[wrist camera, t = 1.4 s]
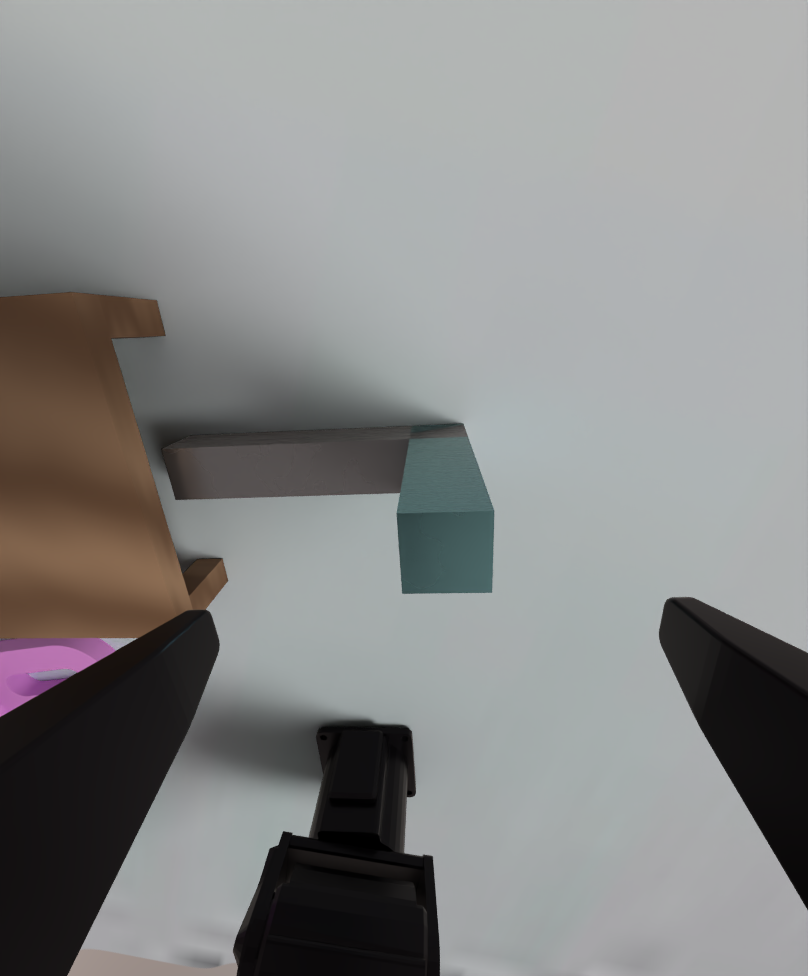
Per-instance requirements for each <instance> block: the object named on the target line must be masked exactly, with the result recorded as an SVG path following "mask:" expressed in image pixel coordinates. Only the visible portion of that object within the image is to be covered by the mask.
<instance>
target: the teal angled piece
mask: <svg viewBox="0 0 808 976" xmlns="http://www.w3.org/2000/svg"><path fill="white" fill-rule="evenodd" d="M161 450H162V454H163V457H164V461H165V464H166V468H167V471H168V475H169V478H170V482H171V485H172V489H173V492H174V496H175V499H176V500H187V499H220V498H252V497H285V496H318V495H350V494H383V493H400V497H399V503H398V509H397V525H398V539H399V553H400V568H401V582H402V594H414V593H492V575H493V539H494V509H493V506H492V503H491V500H490V497H489V495H488V492H487V489H486V486H485V483H484V480H483V478H482V475H481V472H480V469H479V466H478V464H477V461H476V458H475V455H474V452H473V449H472V447H471V444H470V441H469V438H468V435H467V433H466V430H465V427H464V424H444V425H420V426H397V427H374V428H350V429H327V430H304V431H280V432H257V433H233V434H210V435H191V436H189V437H186V438H184V439H182V440H180V441H178V442H176V443H173V444H171V445H169V446H167V447H165V448H162V449H161Z"/></svg>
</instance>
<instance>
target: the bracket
mask: <svg viewBox="0 0 808 976" xmlns="http://www.w3.org/2000/svg"><path fill="white" fill-rule="evenodd" d="M113 652H115V650H114V649H113V648H112V647H111V646H110V645H108V644H107V643H106V642H104V641H102V640H101V639H99V638H16V639H9V640H1V641H0V717H1V716H3V715H4V714H6V713H8V712H10V711H11V710H13V709H15V708H17V707H18V706H20V705H22V704H24V703H25V702H27V701H29V700H31V699H32V698H34V697H36V696H38V695H39V694H41V693H43V692H45V691H46V690H48V689H50V688H52V687H53V686H55V685H57V684H59V683H60V682H62V681H64V680H66V679H67V678H65V679H57V680H48V681H39V680H36V679H34V678H32V677H30V676H29V675H28V674H27V673H33V672H41V671H50V670H58V669H71V670H74V671H76V672H80V671H81V670H83V669H85V668H87V667H88V666H90V665H92V664H94V663H95V662H97V661H99V660H101V659H102V658H104V657H106V656H108V655H110V654H111V653H113Z"/></svg>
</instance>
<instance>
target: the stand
mask: <svg viewBox="0 0 808 976" xmlns="http://www.w3.org/2000/svg"><path fill="white" fill-rule="evenodd" d="M155 336H166V335H165V331H164V327H163V324H162V320H161V316H160V312H159V308H158V304H157V300H147V299H136V298H126V297H116V296H106V295H95V294H85V293H75V292H67V293H53V294H39V295H25V296H11V297H0V638H139V637H141V636H143V635H145V634H146V633H148V632H150V631H152V630H153V629H155V628H157V627H159V626H160V625H162V624H164V623H166V622H167V621H169V620H171V619H173V618H174V617H176V616H178V615H180V614H181V613H183V612H185V611H188V610H205V609H206V608H207V607H208V606H209V604H210V603H211V602H212V600H213V599H214V598H215V597H216V595H217V594H218V593H219V592H220V590H221V589H222V588H223V587H224V585H225V584H226V583H227V582H228V578H227V574H226V571H225V567H224V563H223V559H197V560H196V561H195V562H194V563H193V564H192V565H191V566H190V567H189V568H188V569H187V570H186V571H185V572H184V573H183V574H182V572H181V568H180V565H179V562H178V558H177V555H176V552H175V548H174V545H173V542H172V538H171V535H170V532H169V528H168V525H167V522H166V519H165V515H164V512H163V509H162V505H161V502H160V499H159V495H158V492H157V489H156V485H155V482H154V479H153V475H152V472H151V469H150V466H149V462H148V459H147V456H146V452H145V449H144V446H143V442H142V439H141V436H140V432H139V429H138V426H137V423H136V419H135V416H134V413H133V409H132V406H131V403H130V399H129V396H128V393H127V389H126V386H125V383H124V379H123V376H122V373H121V370H120V366H119V363H118V360H117V356H116V353H115V350H114V346H113V343H112V340H111V339H114V338H139V337H155Z"/></svg>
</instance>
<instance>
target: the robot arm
mask: <svg viewBox="0 0 808 976" xmlns="http://www.w3.org/2000/svg"><path fill="white" fill-rule="evenodd" d="M659 639H660V643H661V646H662V648H663V651H664V653H665V655H666V657H667V659H668V661H669V663H670V665H671V668H672V670H673V672H674V674H675V676H676V678H677V680H678V683H679V685H680V687H681V689H682V691H683V693H684V695H685V698H686V700H687V702H688V704H689V706H690V708H691V710H692V712H693V714H694V716H695V718H696V720H697V722H698V724H699V726H700V728H701V730H702V732H703V733H704V735H705V737H706V739H707V740H708V742H709V744H710V746H711V747H712V749H713V751H714V752H715V754H716V756H717V757H718V759H719V761H720V762H721V764H722V766H723V768H724V769H725V771H726V773H727V774H728V776H729V778H730V779H731V781H732V783H733V784H734V786H735V788H736V790H737V791H738V793H739V795H740V796H741V798H742V800H743V801H744V803H745V805H746V806H747V808H748V810H749V812H750V813H751V815H752V817H753V818H754V820H755V822H756V823H757V825H758V827H759V828H760V830H761V832H762V833H763V835H764V837H765V839H766V840H767V842H768V844H769V845H770V847H771V849H772V850H773V852H774V854H775V855H776V857H777V859H778V861H779V862H780V864H781V866H782V867H783V869H784V871H785V872H786V874H787V876H788V877H789V879H790V881H791V883H792V884H793V886H794V888H795V889H796V891H797V893H798V894H799V896H800V898H801V899H802V901H803V903H804V905H805V906H806V908H807V910H808V653H807V652H805V651H803V650H801V649H799V648H797V647H794V646H792V645H790V644H788V643H786V642H784V641H782V640H780V639H778V638H776V637H774V636H772V635H770V634H767V633H765V632H763V631H761V630H759V629H757V628H755V627H753V626H751V625H749V624H747V623H745V622H743V621H741V620H738V619H736V618H734V617H732V616H730V615H728V614H726V613H724V612H722V611H720V610H718V609H716V608H714V607H711V606H709V605H707V604H705V603H703V602H701V601H699V600H697V599H695V598H692V597H672V598H669V599H667V600H666V602H665V604H664V609H663V614H662V619H661V624H660V629H659ZM219 646H220V644H219V638H218V635H217V631H216V628H215V625H214V622H213V618H212V615H211V613H210V612H209V611H208V610H188V611H185V612H183V613H181V614H180V615H178V616H176V617H174V618H173V619H171V620H169V621H167V622H166V623H164V624H162V625H160V626H159V627H157V628H155V629H153V630H152V631H150V632H148V633H146V634H145V635H143V636H141V637H139V638H138V639H136V640H134V641H132V642H131V643H129V644H127V645H125V646H124V647H122V648H120V649H118V650H117V651H115V652H113V653H111V654H110V655H108V656H106V657H104V658H102V659H101V660H99V661H97V662H95V663H94V664H92V665H90V666H88V667H87V668H85V669H83V670H81V671H80V672H78V673H76V674H74V675H73V676H71V677H69V678H67V679H66V680H64V681H62V682H60V683H59V684H57V685H55V686H53V687H52V688H50V689H48V690H46V691H45V692H43V693H41V694H39V695H38V696H36V697H34V698H32V699H31V700H29V701H27V702H25V703H24V704H22V705H20V706H18V707H17V708H15V709H13V710H11V711H10V712H8V713H6V714H4V715H3V716H1V717H0V976H67V975H68V973H69V971H70V969H71V967H72V965H73V963H74V961H75V959H76V957H77V955H78V953H79V951H80V949H81V947H82V945H83V943H84V941H85V939H86V937H87V935H88V933H89V930H90V928H91V926H92V924H93V922H94V920H95V918H96V916H97V914H98V912H99V910H100V908H101V906H102V904H103V902H104V900H105V898H106V896H107V894H108V892H109V890H110V888H111V886H112V884H113V882H114V880H115V878H116V876H117V874H118V872H119V870H120V868H121V866H122V864H123V862H124V860H125V858H126V856H127V854H128V851H129V849H130V847H131V845H132V843H133V841H134V839H135V837H136V835H137V833H138V831H139V829H140V827H141V825H142V823H143V821H144V819H145V817H146V815H147V813H148V811H149V809H150V807H151V805H152V803H153V801H154V799H155V797H156V795H157V793H158V791H159V789H160V787H161V785H162V783H163V781H164V779H165V777H166V774H167V772H168V770H169V768H170V766H171V764H172V762H173V760H174V758H175V756H176V754H177V752H178V750H179V748H180V746H181V744H182V742H183V740H184V738H185V736H186V734H187V731H188V729H189V727H190V725H191V722H192V720H193V718H194V715H195V713H196V710H197V708H198V705H199V702H200V700H201V697H202V695H203V692H204V689H205V687H206V684H207V681H208V679H209V676H210V674H211V671H212V668H213V666H214V663H215V661H216V658H217V655H218V652H219ZM316 739H317V744H318V749H319V754H320V759H321V765H322V770H323V779H322V783H321V787H320V792H319V796H318V800H317V804H316V809H315V813H314V817H313V821H312V826H311V830H310V834H309V838H308V837H302V836H296V835H292V833H291V832H285V831H283V833H282V836H281V839H280V842H279V845H278V846H275V847H273V848H270V849H269V853H268V856H267V859H266V862H265V866H264V869H263V872H262V875H261V878H260V881H259V884H258V887H257V889H256V892H255V894H254V897H253V899H252V901H251V904H250V906H249V908H248V911H247V913H246V915H245V918H244V920H243V922H242V925H241V927H240V929H239V932H238V934H237V937H236V940H235V944H234V948H233V953H234V956H235V959H236V962H237V965H238V970H237V976H440V947H439V931H438V918H437V905H436V892H435V880H434V867H433V856H429V855H423V856H417V855H411V854H405V853H404V845H405V824H406V803H407V797H413V796H415V794H416V781H415V766H414V752H413V737H412V731H411V730H409V729H407V728H357V727H321V728H319V730H318V732H317V736H316Z"/></svg>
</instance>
